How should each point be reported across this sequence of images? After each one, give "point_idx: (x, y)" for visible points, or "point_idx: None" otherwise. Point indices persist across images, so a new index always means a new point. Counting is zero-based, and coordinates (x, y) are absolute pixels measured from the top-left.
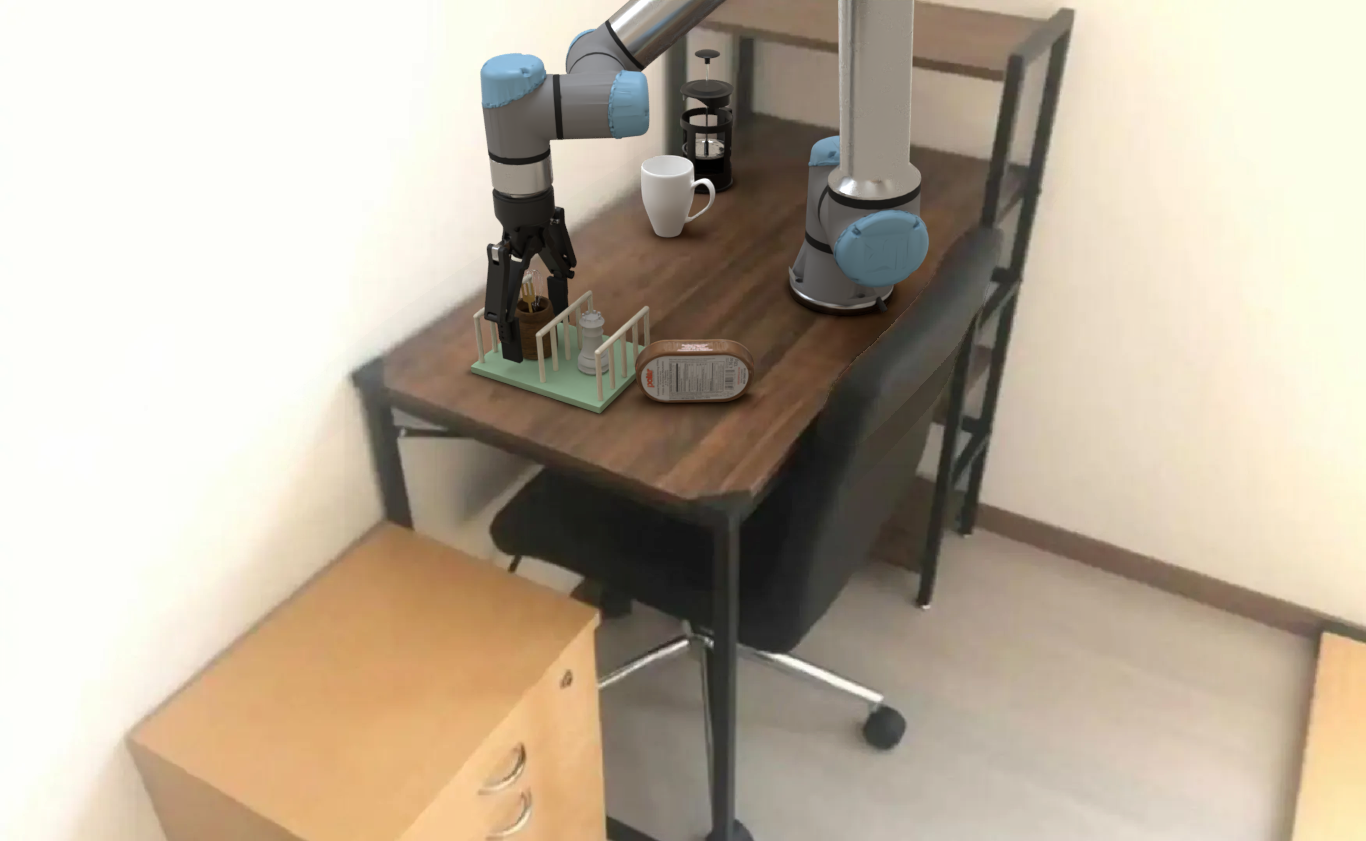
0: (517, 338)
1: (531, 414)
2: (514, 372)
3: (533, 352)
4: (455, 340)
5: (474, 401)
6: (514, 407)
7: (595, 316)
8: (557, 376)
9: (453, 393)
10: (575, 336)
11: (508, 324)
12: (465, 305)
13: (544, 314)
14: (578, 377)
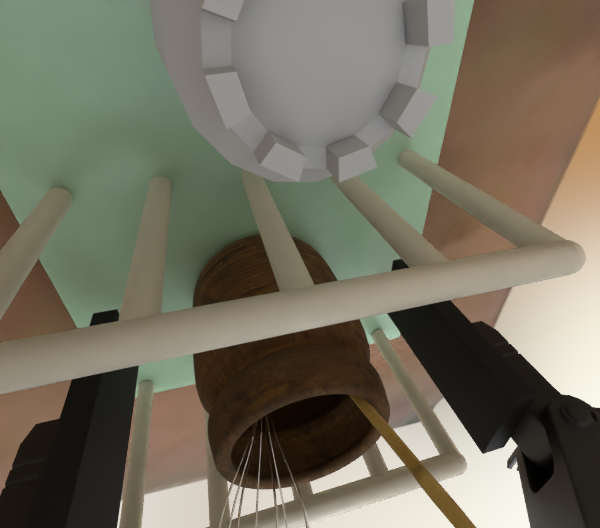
0: (469, 322)
1: (524, 89)
2: (391, 254)
3: (331, 270)
4: None
5: (487, 250)
6: (498, 157)
7: (296, 10)
8: None
9: (467, 298)
10: (110, 252)
11: (536, 389)
12: (190, 478)
13: (335, 369)
14: None
